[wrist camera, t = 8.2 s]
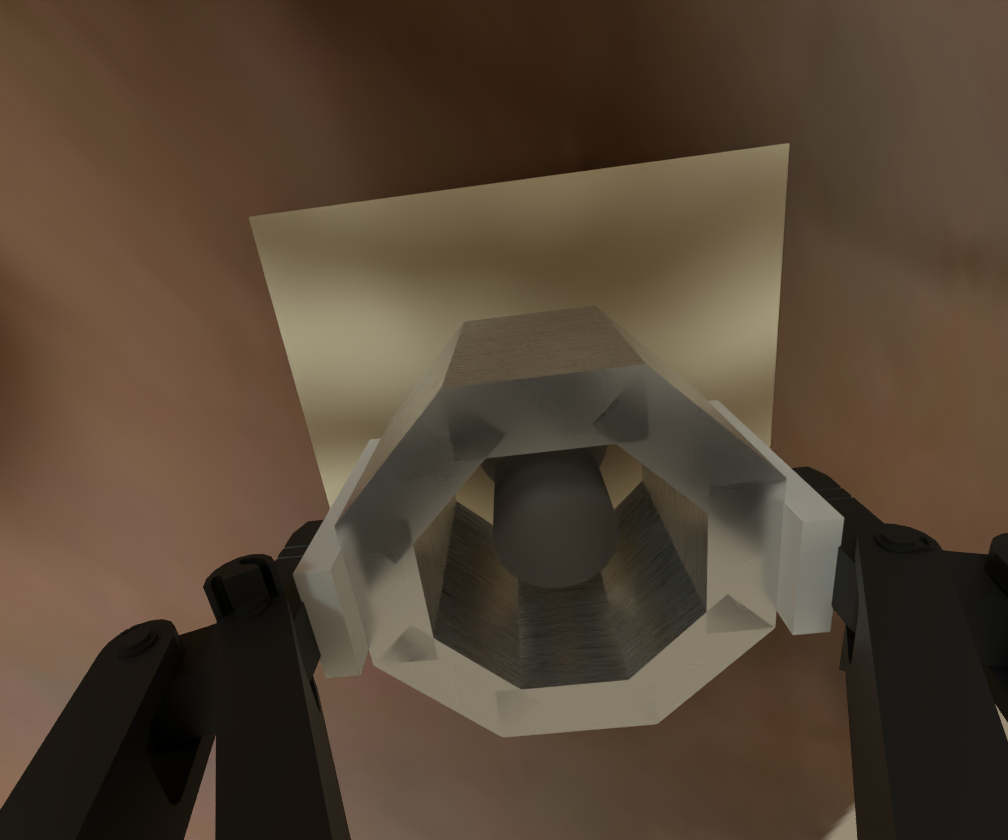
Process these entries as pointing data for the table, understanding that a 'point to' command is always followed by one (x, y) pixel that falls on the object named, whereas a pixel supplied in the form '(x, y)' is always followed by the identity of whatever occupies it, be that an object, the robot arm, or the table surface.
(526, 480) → the shaft block
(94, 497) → the table surface
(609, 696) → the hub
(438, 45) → the table surface
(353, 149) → the table surface
